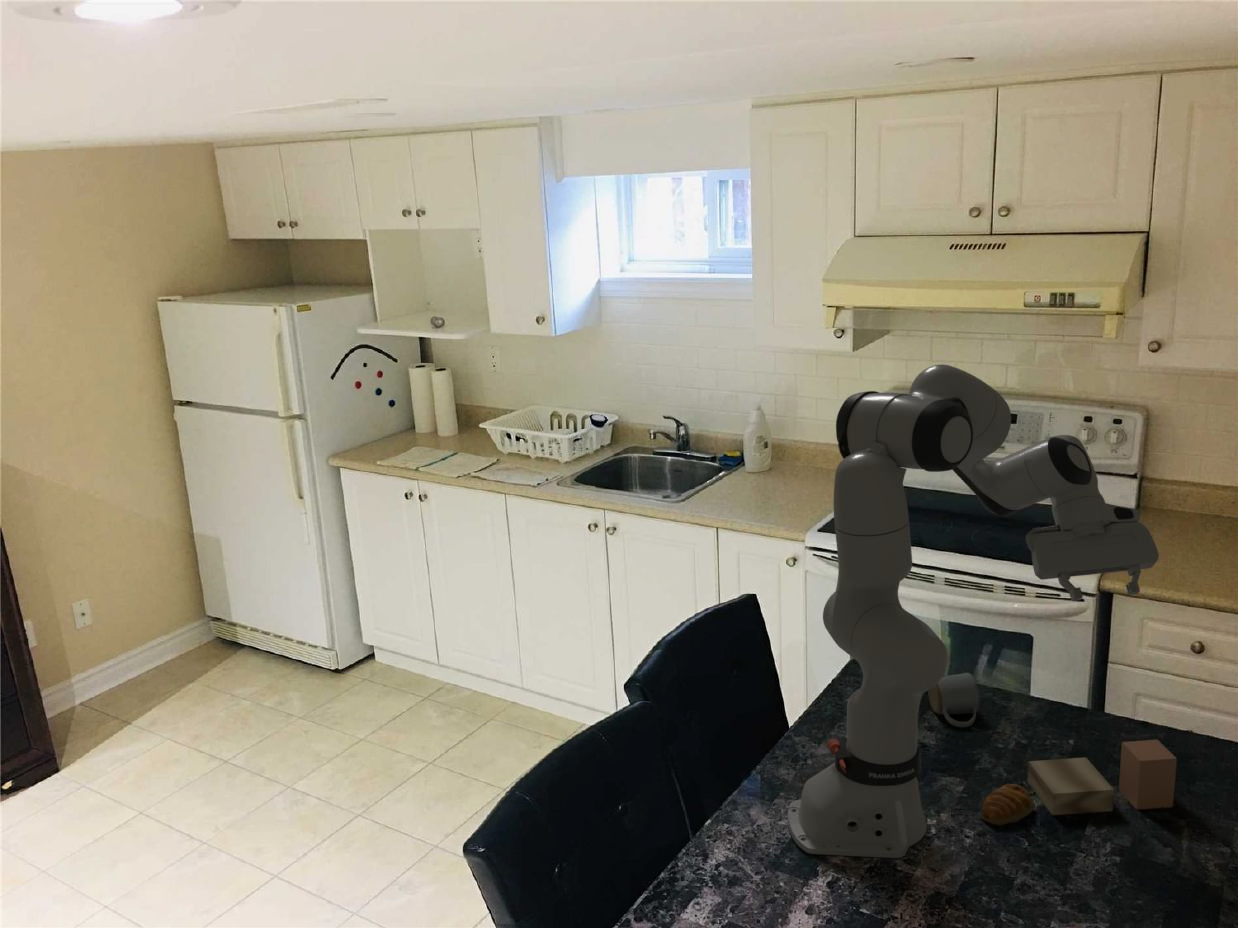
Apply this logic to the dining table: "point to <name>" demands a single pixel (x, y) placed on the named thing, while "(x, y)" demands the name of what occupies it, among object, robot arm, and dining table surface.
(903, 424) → the robot arm
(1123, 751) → the reddish brown block
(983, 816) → the pastry
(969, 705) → the ceramic mug
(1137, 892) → the dining table surface
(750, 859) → the dining table surface
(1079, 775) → the oak base block
